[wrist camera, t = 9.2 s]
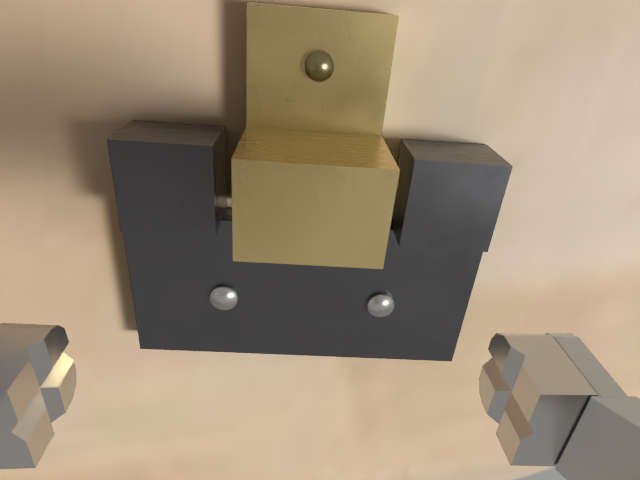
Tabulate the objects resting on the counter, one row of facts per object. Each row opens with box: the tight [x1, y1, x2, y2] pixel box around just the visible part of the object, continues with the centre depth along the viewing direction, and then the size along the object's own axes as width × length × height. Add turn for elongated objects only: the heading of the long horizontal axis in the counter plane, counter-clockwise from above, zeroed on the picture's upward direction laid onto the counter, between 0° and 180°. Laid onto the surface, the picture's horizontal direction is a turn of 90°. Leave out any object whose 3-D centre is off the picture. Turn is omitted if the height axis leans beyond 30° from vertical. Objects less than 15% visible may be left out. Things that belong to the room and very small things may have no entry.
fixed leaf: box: [107, 120, 512, 361], centre depth 19 cm, size 15×10×3 cm
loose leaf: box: [231, 2, 400, 269], centre depth 15 cm, size 5×8×5 cm, turn 175°
